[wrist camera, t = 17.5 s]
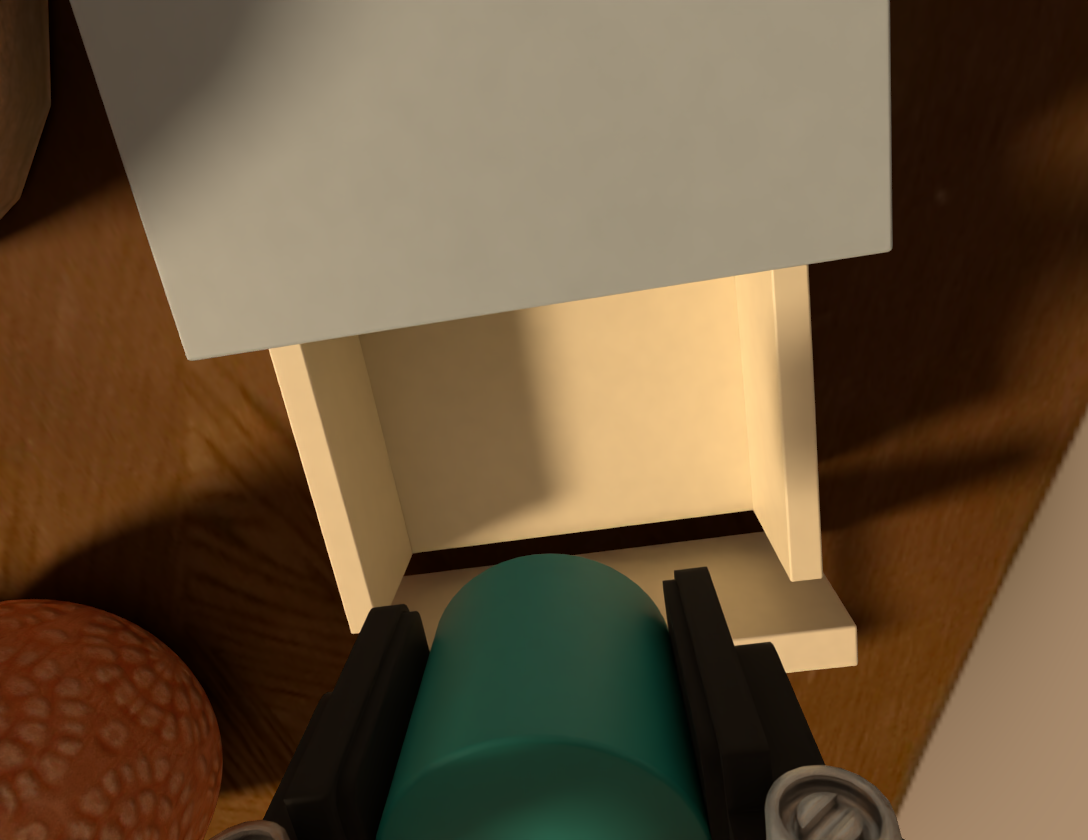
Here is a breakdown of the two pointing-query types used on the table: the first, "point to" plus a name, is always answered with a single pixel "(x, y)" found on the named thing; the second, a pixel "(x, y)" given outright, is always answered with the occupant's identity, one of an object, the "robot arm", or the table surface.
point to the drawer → (580, 448)
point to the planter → (100, 730)
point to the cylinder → (548, 715)
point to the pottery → (22, 91)
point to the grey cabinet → (485, 151)
